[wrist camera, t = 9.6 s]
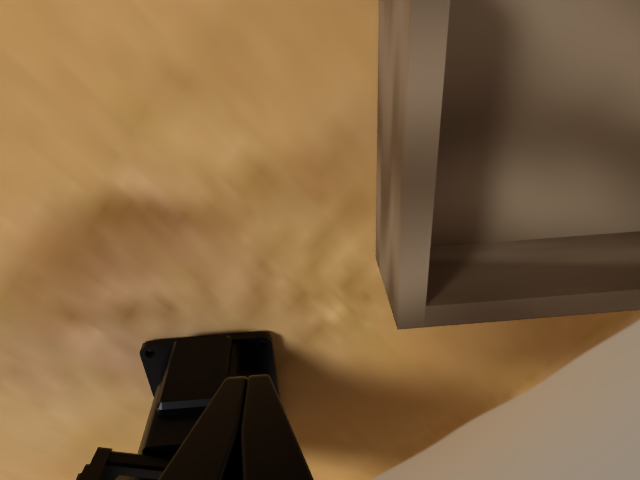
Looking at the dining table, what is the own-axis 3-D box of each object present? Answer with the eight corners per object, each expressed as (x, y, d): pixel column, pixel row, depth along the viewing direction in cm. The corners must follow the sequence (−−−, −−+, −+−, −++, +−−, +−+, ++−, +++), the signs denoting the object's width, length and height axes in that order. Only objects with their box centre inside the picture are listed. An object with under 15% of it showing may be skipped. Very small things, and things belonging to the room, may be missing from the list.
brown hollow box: (648, 237, 23) (733, 302, 18) (375, 257, 22) (397, 329, 18) (754, -67, 17) (918, -76, 12) (379, -46, 16) (414, -47, 12)
